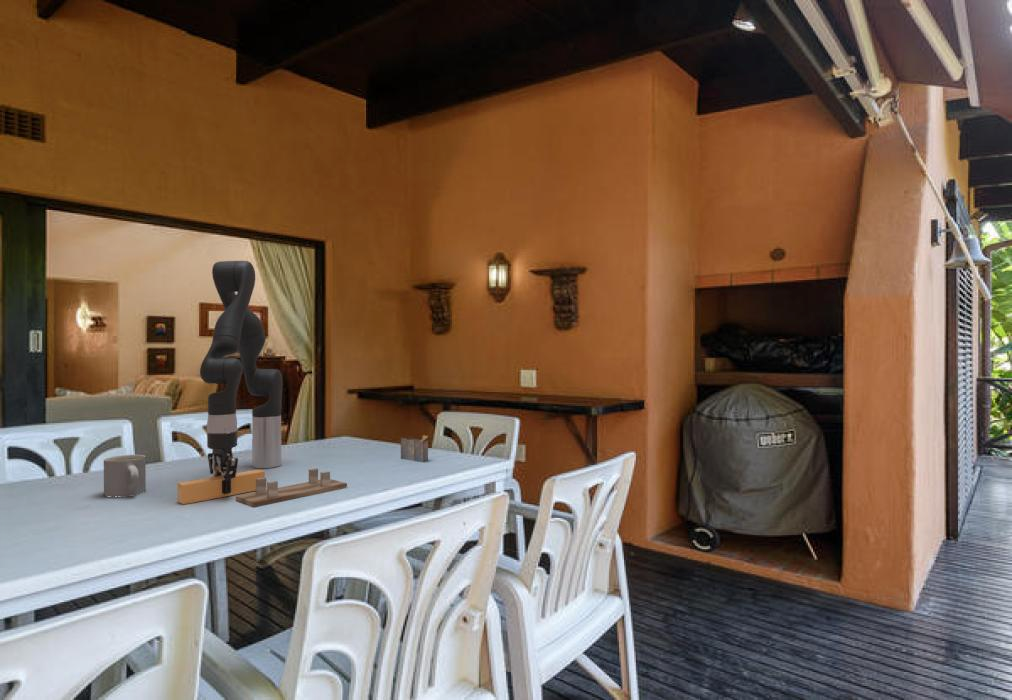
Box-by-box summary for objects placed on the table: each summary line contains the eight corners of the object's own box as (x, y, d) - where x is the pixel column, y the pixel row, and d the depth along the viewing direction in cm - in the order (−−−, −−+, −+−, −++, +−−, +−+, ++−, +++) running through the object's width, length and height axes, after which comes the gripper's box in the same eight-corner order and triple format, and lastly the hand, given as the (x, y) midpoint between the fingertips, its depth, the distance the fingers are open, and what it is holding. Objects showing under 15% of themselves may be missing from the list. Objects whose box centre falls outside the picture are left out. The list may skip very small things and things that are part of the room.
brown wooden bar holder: (236, 500, 162) (235, 481, 162) (327, 482, 183) (327, 465, 183) (254, 507, 155) (253, 487, 155) (347, 487, 176) (346, 469, 176)
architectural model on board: (429, 462, 215) (428, 435, 215) (422, 463, 213) (422, 436, 213) (406, 458, 222) (406, 432, 222) (400, 459, 220) (400, 433, 220)
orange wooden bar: (177, 501, 160) (177, 482, 160) (258, 486, 176) (258, 469, 176) (183, 504, 158) (183, 485, 157) (264, 488, 174) (264, 471, 174)
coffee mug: (102, 492, 171) (102, 457, 171) (143, 487, 177) (142, 453, 177) (106, 502, 160) (106, 464, 160) (149, 496, 166) (149, 460, 166)
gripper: (197, 429, 169) (197, 490, 169) (220, 434, 159) (220, 499, 159) (224, 426, 174) (224, 485, 174) (247, 431, 165) (248, 493, 165)
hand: (222, 491), depth 167 cm, fingers closed on orange wooden bar, 4 cm apart
